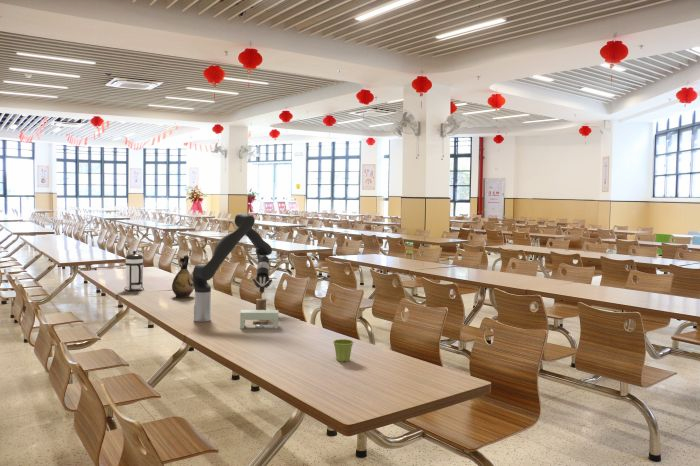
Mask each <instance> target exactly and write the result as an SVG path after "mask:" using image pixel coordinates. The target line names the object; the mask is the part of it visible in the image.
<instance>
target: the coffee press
mask: <svg viewBox="0 0 700 466" xmlns="http://www.w3.org/2000/svg"><path fill="white" fill-rule="evenodd" d="M124 258H125V287H124V290H125V291H126V290H128V292H132V291H133V290H141V291H144V290H145V288H144V287H143V285H144V284H143V282H144V281H143V280H144V279H143V277H144V275H143V274H144V273H143V271H144V270H143V268H144V261H143V260H144V257H143V255H141V254H140V253H137V251H136V250H133V251H132V253H129V254H127V255H125V257H124Z"/></svg>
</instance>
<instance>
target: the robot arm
mask: <svg viewBox="0 0 700 466" xmlns="http://www.w3.org/2000/svg"><path fill="white" fill-rule="evenodd" d="M255 220H256V219H255V217H254V216H252V215H251V214H247V213H244V212H243V213H242V212H240V213H237V214H236V215H235V217H234V224H235V226H236V227H237V228H236V230H234V231H231V232H230V233H228V234H226V235H224V236H223V237H222V238H221V239H220V240H219V241H218V242H217V244H216V245H215V248H214V251H213V256H212V257H211V258H210V260H209V261H208V262H207V263H206V264H203V263H198V264H196V265H195V266H194V267H193V271H192V278H193V285H194V304H193V322H198V323H199V322H200V323H201V322H205V323H206V322H210V321H211V320H212V319H211V316H212V315H211V313H212V312H211V311H212V310H211V309H212V307H211V306H212V305H211V304H212V300H211V299H212V287H211V285H209V284H208V283H209V282H208V281H210V280H211V279H212V278H213V277H214V275H215V274H216V273H217V270H218V269H219V268H220V267H221V264H222V263H223V262H224V261H225V260H226V259H227V258H228V256H229V255H230V254H231V253H232V251H233V250H234V248H235V247H236V246H237V244H239V242H240V241H242V239H243V238H244V237H245V236H246V237H247V238H248V239H249V240H250V243H252V245H253V246H254V247H255V253H256V255H257V267H256V277H255V278H253V279H252V283H253V285H254V286H256V288H259V293H260V294H264V293H265V289H267V288H269V286H270V285H271V284H273V279H271V278H270V277H269V276H270V275H269V274H270V267H269V265H270V264H269V263H270V261H269V256H270V255H271V254H272V252H273V248H272V246H271V245H270V244H269V243H268V242H266V241H265V240H264V239H263V237H262V236H261V234H259V233H258V232H257V231H256V230H255V229H254V228H253V227H254V225H255Z"/></svg>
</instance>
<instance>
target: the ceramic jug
mask: <svg viewBox="0 0 700 466" xmlns="http://www.w3.org/2000/svg"><path fill="white" fill-rule="evenodd" d="M189 259H190V256H189V255H187V254H186V255H184V256H183V257H181V258H180V259H179V263H180V264H181V268H180V269H179V271H178V272H177V273H176V275H175V277H174V278H173V281H172V284H171V289H172V292H173V294H174V295H175V298H178V299H187V297H188V298H189V297H190V295H191V294H192V293H193V292H194V291H195V288H194V285H193V275H191V273H190V271H189V269H188V265H189Z"/></svg>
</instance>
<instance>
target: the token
mask: <svg viewBox="0 0 700 466" xmlns="http://www.w3.org/2000/svg"><path fill="white" fill-rule="evenodd" d="M264 325H265V324H254V327H255V328H257V329H259V328H260V329H261V328H262V329H263V328H264V327H265V326H264Z"/></svg>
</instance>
